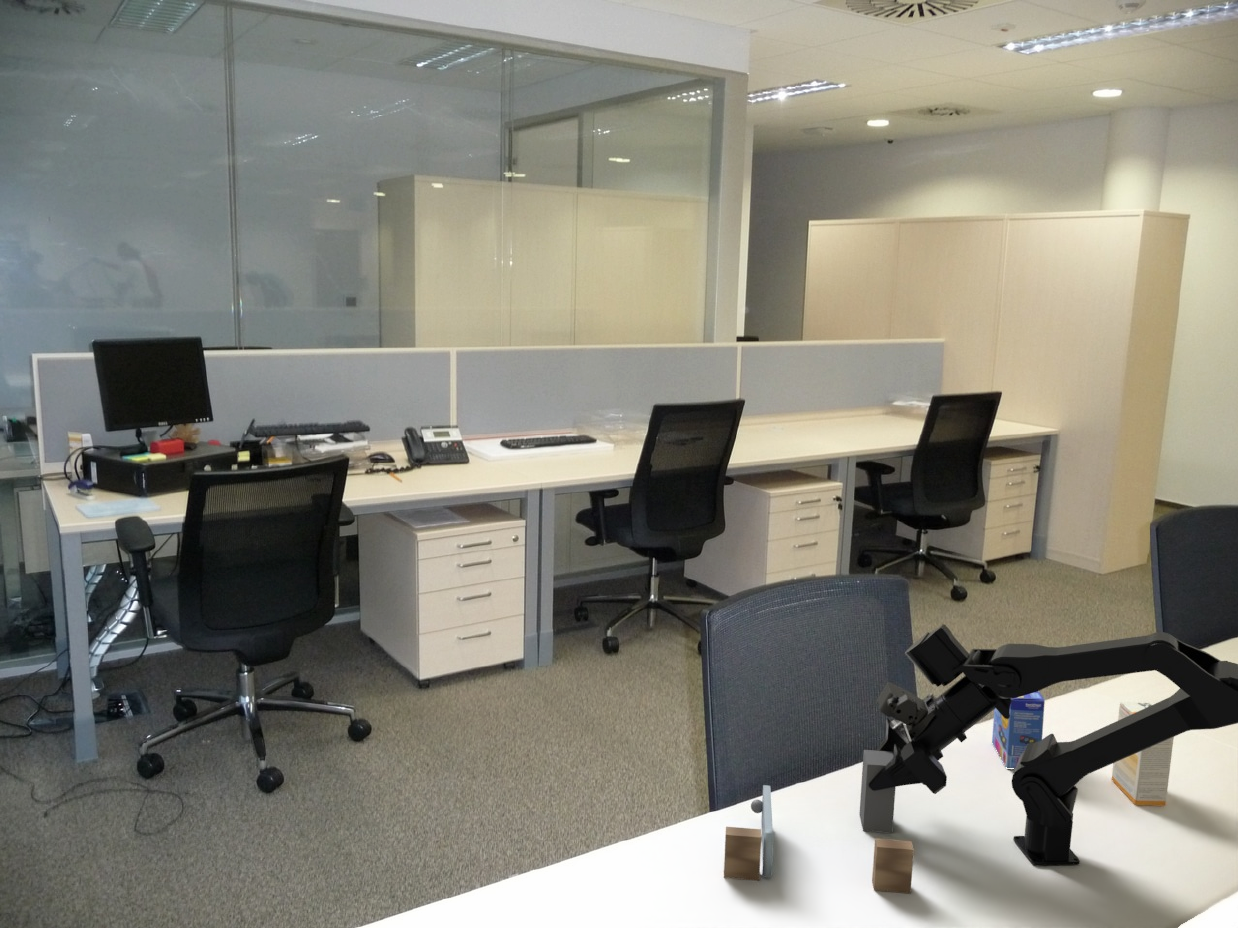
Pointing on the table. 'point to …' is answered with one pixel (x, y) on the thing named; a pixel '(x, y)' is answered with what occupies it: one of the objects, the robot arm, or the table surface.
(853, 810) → the table surface
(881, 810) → the tall gray pillar
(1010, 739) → the ink cartridge box
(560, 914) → the table surface
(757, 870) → the wooden blocks
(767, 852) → the door
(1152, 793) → the supplement box
